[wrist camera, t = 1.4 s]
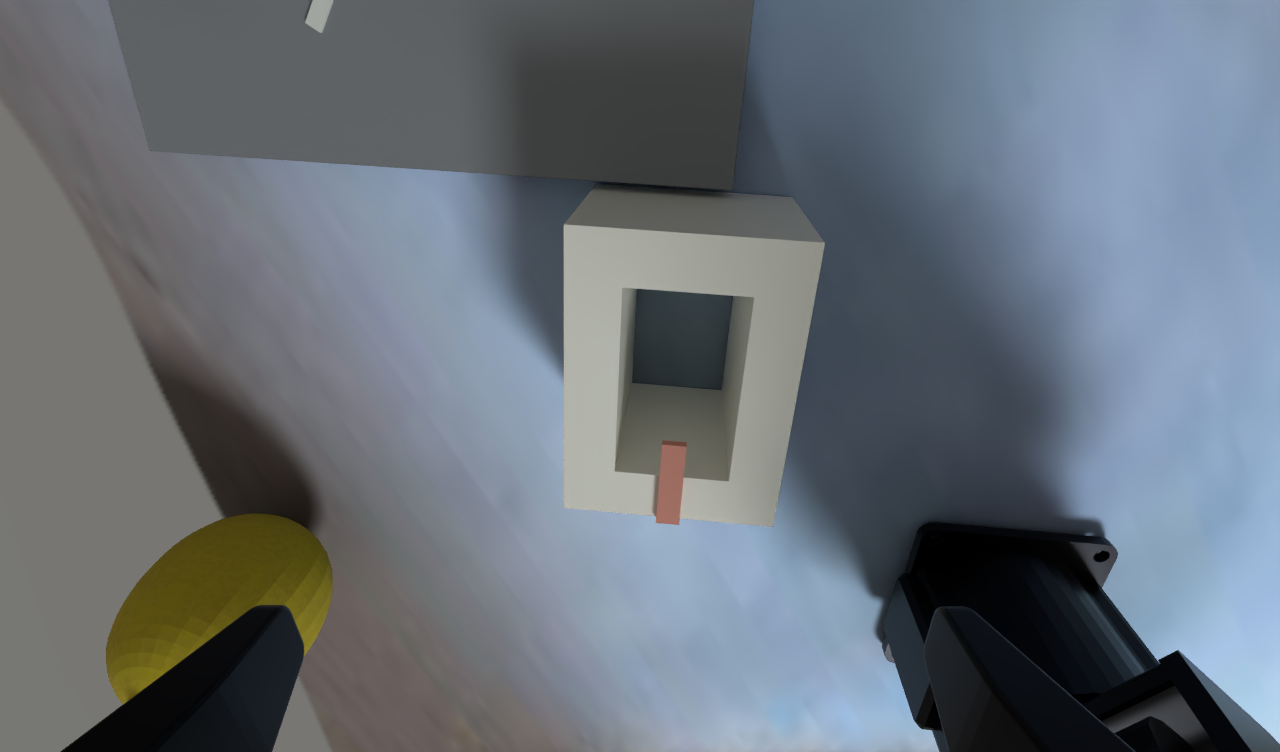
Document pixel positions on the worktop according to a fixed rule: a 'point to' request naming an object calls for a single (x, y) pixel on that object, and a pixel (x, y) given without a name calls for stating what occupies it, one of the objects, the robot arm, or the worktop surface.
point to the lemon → (216, 594)
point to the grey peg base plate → (448, 84)
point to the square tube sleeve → (680, 416)
